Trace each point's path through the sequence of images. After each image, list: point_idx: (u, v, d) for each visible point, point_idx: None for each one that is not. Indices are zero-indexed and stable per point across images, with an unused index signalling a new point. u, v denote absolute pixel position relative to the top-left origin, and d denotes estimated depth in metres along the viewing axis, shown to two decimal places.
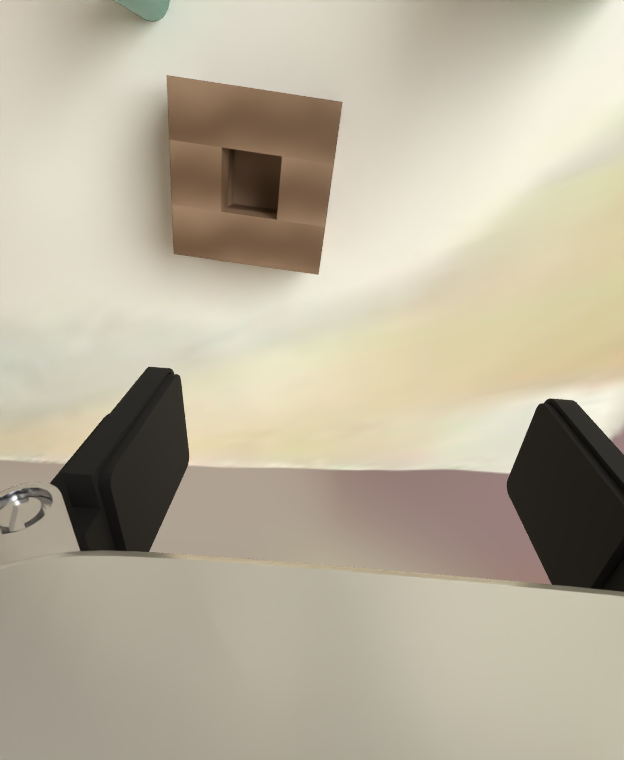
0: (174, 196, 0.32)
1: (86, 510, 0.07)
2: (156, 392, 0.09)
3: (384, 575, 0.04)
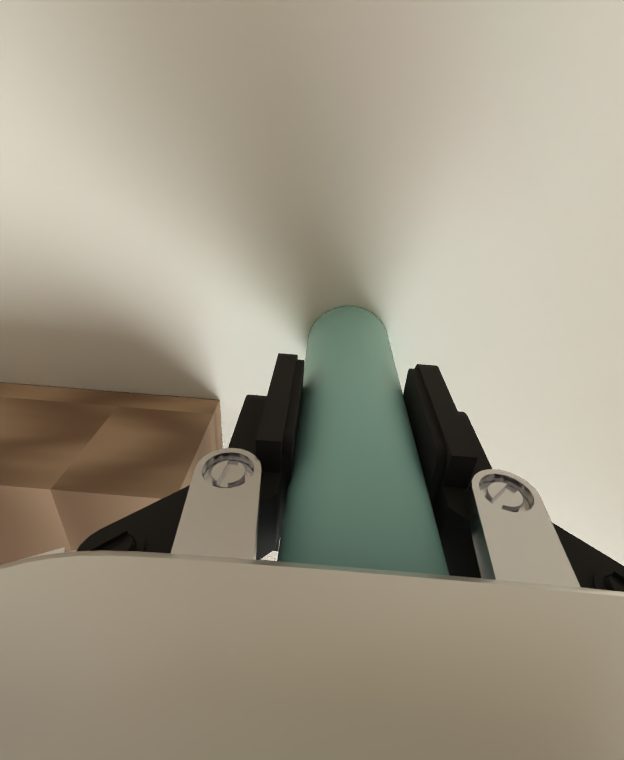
0: None
1: (270, 473, 0.08)
2: (295, 375, 0.10)
3: (384, 575, 0.04)
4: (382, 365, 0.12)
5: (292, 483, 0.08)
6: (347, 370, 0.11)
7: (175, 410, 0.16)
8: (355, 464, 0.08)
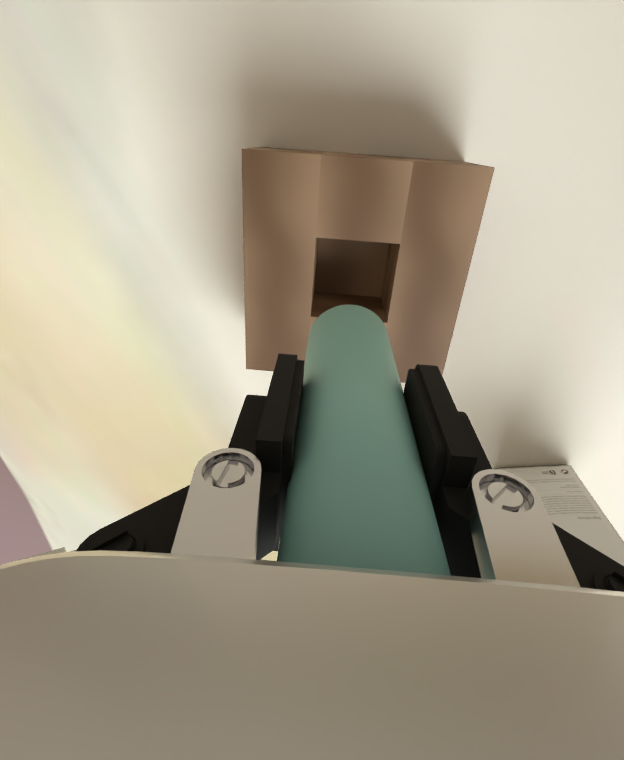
0: (333, 161, 0.20)
1: (270, 473, 0.08)
2: (295, 375, 0.10)
3: (384, 575, 0.04)
4: (382, 364, 0.11)
5: (292, 482, 0.08)
6: (347, 368, 0.11)
7: None
8: (356, 462, 0.08)
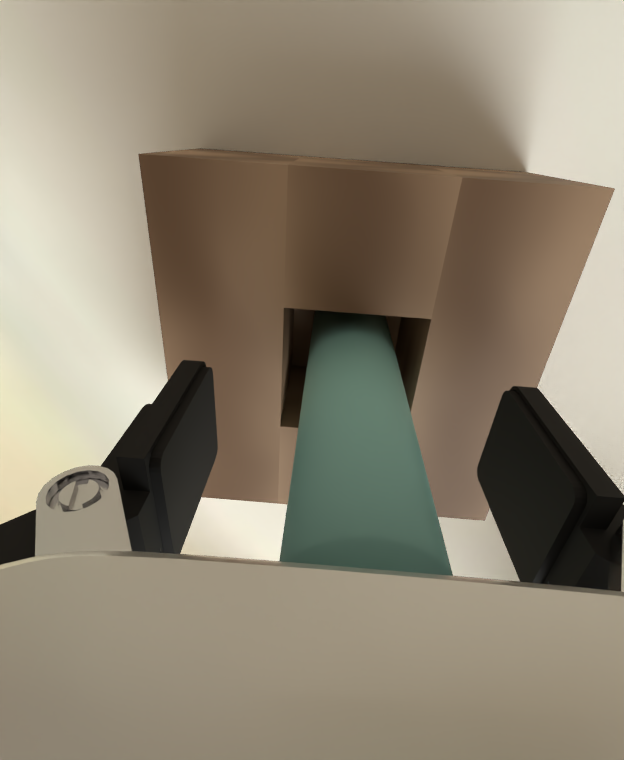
0: (311, 176, 0.11)
1: (137, 492, 0.08)
2: (193, 383, 0.10)
3: (384, 575, 0.04)
4: (379, 335, 0.13)
5: (302, 424, 0.10)
6: (348, 337, 0.13)
7: (494, 171, 0.14)
8: (354, 403, 0.09)
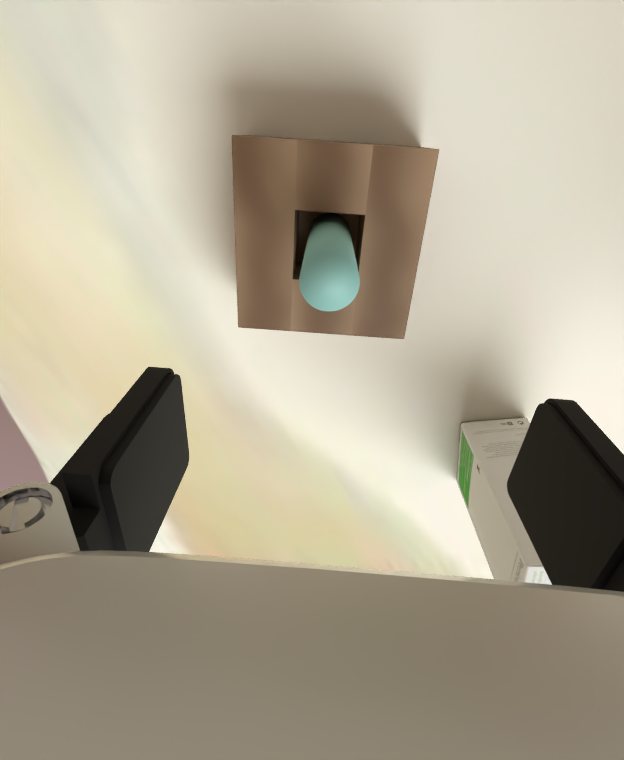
0: (307, 144, 0.24)
1: (86, 510, 0.07)
2: (156, 392, 0.09)
3: (384, 575, 0.04)
4: (342, 226, 0.27)
5: (306, 249, 0.24)
6: (327, 224, 0.26)
7: None
8: (327, 236, 0.23)
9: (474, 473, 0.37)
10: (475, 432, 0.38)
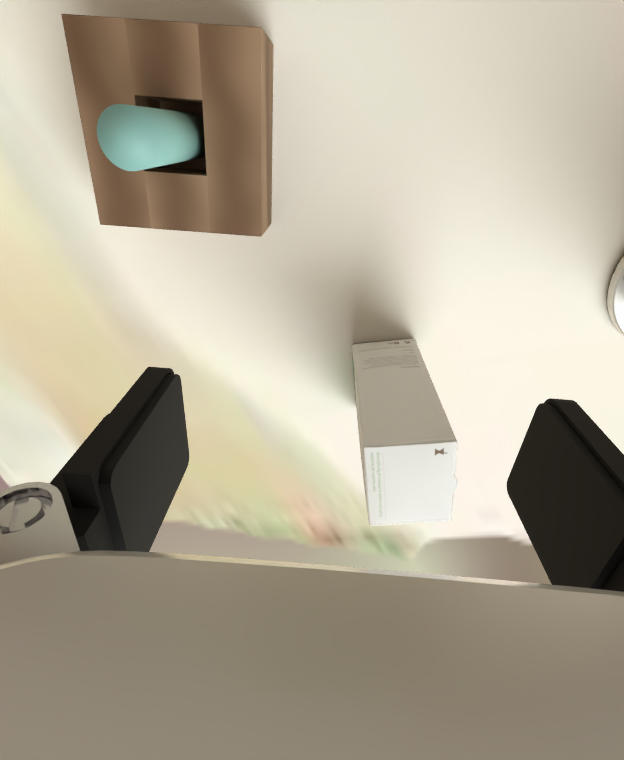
0: (135, 23, 0.25)
1: (86, 510, 0.07)
2: (156, 392, 0.09)
3: (384, 575, 0.04)
4: (185, 114, 0.28)
5: None
6: None
7: None
8: None
9: (355, 387, 0.38)
10: (361, 350, 0.39)
